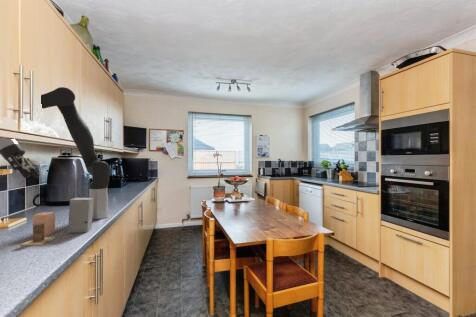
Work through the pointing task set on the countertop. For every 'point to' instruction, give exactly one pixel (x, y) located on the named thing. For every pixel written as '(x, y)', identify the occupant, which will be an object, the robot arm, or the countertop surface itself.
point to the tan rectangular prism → (45, 221)
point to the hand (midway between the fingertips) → (33, 177)
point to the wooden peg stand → (38, 236)
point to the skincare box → (80, 215)
